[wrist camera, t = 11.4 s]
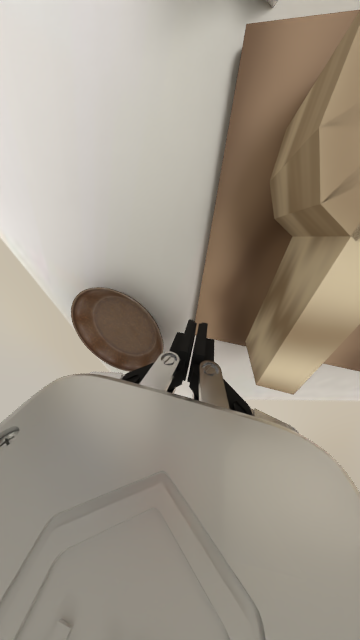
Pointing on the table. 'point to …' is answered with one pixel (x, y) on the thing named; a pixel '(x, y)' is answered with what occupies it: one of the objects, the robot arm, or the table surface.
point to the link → (315, 229)
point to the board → (262, 174)
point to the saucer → (116, 328)
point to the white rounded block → (272, 2)
